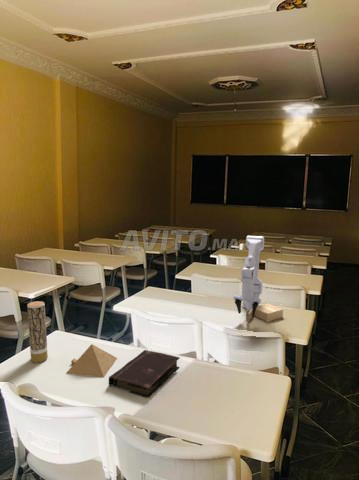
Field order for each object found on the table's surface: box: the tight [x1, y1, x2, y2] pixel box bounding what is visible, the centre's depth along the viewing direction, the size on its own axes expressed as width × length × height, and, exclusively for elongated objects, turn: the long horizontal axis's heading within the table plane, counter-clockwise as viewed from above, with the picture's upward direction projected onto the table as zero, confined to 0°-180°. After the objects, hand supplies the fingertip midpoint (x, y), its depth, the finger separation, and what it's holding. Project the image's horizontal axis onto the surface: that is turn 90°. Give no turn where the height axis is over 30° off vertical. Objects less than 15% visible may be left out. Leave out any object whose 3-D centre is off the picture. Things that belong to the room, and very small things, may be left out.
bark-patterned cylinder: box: [26, 300, 48, 363], centre depth 163 cm, size 7×7×25 cm
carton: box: [253, 303, 284, 322], centre depth 216 cm, size 11×12×4 cm
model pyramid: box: [65, 343, 118, 378], centre depth 160 cm, size 17×17×10 cm
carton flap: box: [245, 308, 253, 323], centre depth 211 cm, size 13×1×7 cm, turn 156°
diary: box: [108, 349, 181, 398], centre depth 152 cm, size 19×25×5 cm
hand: (246, 314), depth 206 cm, fingers open, 7 cm apart
